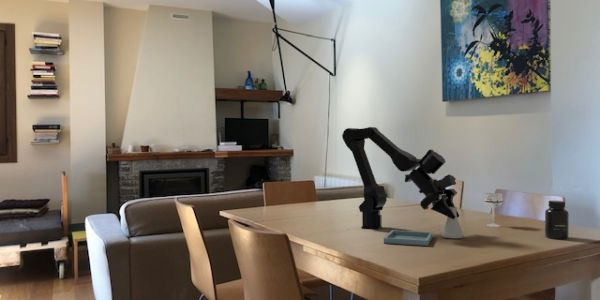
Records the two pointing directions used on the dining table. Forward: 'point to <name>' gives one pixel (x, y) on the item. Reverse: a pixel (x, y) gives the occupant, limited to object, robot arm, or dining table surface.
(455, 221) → the flask
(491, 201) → the wineglass
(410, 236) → the tray
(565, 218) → the supplement bottle
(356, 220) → the dining table surface
